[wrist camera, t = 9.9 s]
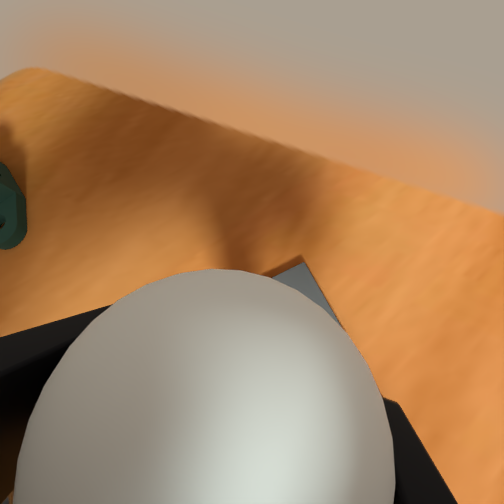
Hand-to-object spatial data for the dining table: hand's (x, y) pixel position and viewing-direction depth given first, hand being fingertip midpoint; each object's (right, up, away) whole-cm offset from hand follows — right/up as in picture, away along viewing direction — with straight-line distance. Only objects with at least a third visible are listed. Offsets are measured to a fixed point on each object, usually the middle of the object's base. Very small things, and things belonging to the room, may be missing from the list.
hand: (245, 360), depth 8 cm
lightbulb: (0, -4, +6) cm, 7 cm away
